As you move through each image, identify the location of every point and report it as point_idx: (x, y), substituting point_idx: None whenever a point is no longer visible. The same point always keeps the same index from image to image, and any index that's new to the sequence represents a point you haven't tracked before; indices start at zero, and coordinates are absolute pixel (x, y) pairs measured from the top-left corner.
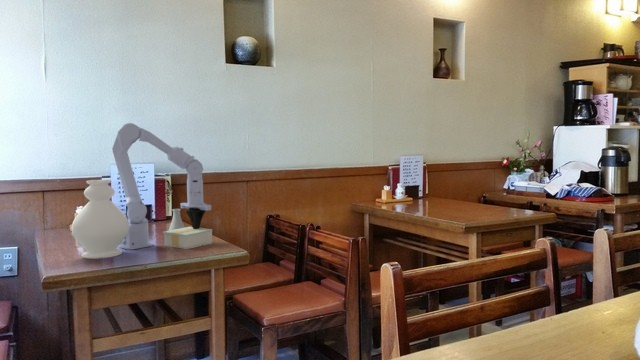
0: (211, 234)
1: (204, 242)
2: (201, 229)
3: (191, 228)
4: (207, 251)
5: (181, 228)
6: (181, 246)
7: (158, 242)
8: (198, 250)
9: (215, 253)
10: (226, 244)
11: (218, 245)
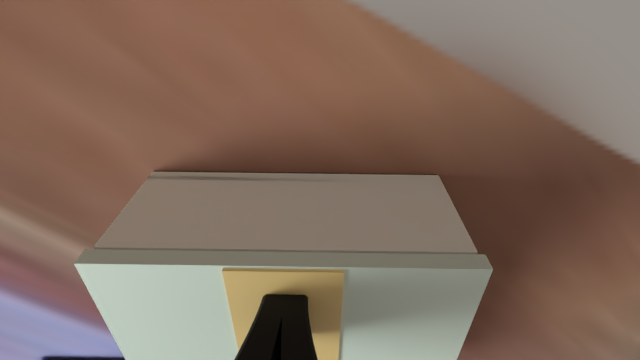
0: (464, 234)
1: None
2: (369, 311)
3: (234, 327)
4: (559, 334)
5: (132, 346)
6: None
7: (68, 308)
8: (489, 338)
9: (633, 343)
10: (594, 149)
11: (539, 205)
